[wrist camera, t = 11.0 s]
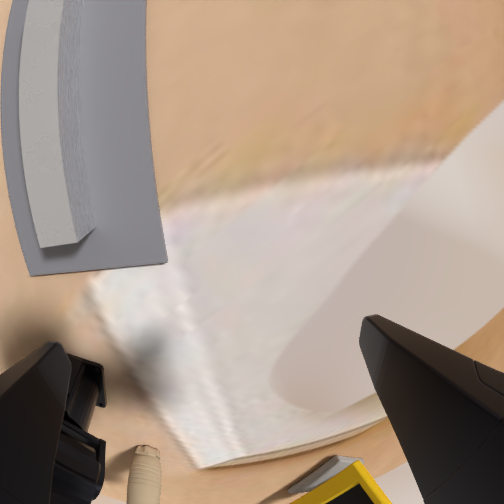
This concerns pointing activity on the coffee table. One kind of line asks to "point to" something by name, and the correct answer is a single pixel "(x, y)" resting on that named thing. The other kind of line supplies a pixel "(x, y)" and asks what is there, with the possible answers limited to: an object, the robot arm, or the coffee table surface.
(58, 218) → the rail
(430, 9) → the coffee table surface
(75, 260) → the mat
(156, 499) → the handle
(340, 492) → the yellow framed monitor
